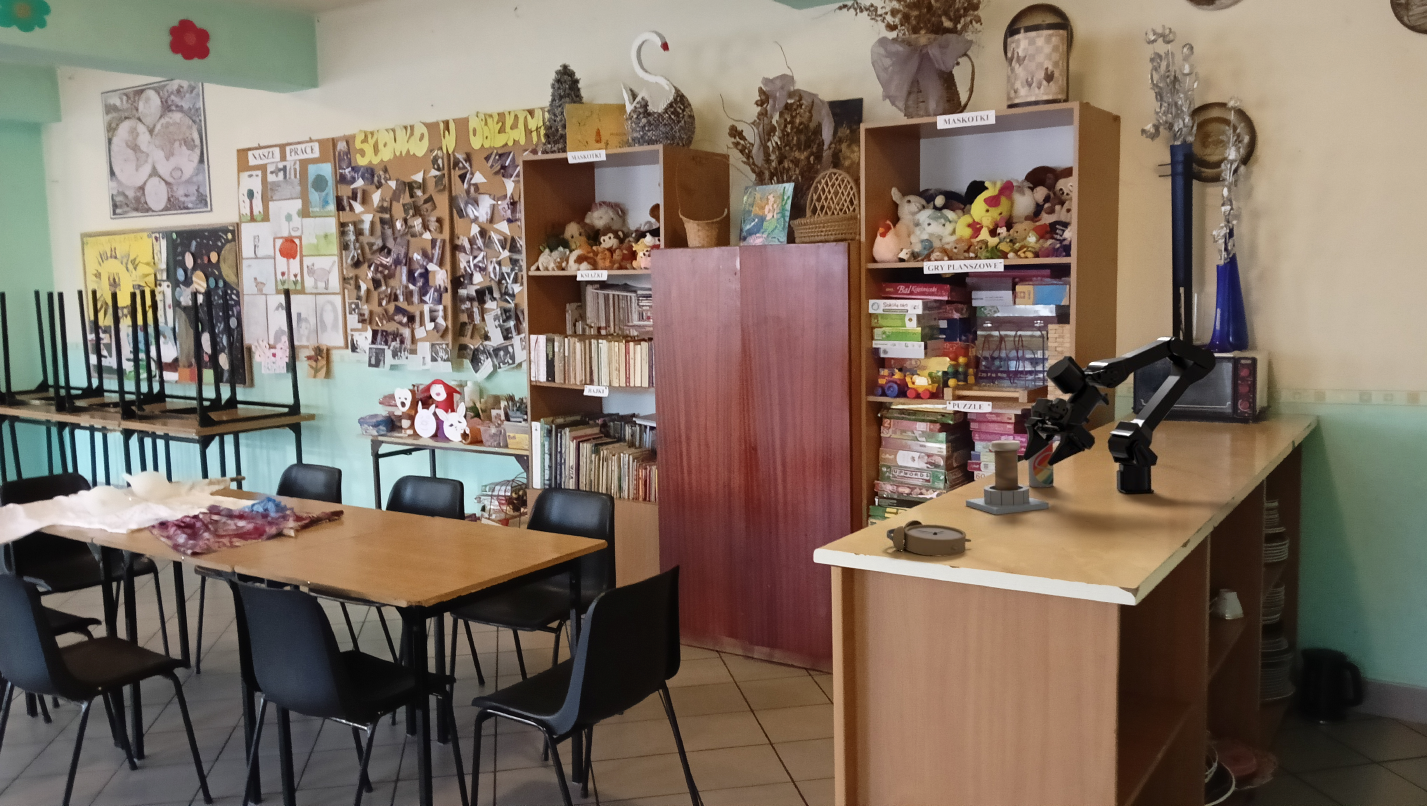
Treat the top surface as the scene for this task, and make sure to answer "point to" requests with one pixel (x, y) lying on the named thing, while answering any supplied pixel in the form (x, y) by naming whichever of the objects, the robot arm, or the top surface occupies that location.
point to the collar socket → (1006, 501)
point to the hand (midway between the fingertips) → (1036, 462)
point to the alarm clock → (928, 539)
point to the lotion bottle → (1041, 462)
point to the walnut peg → (1006, 464)
